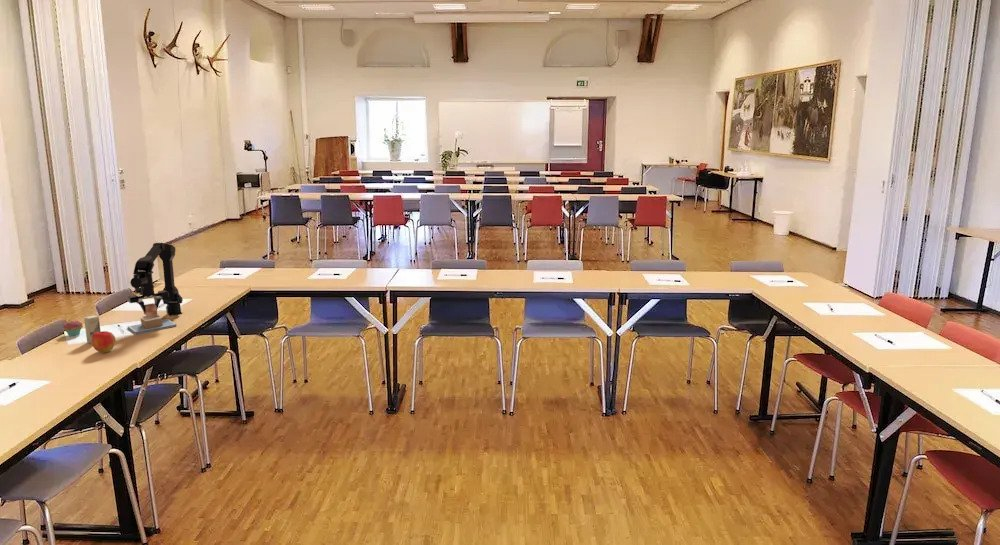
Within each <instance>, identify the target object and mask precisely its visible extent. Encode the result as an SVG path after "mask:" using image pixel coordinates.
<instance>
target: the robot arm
mask: <svg viewBox="0 0 1000 545" xmlns="http://www.w3.org/2000/svg"><path fill="white" fill-rule="evenodd" d="M175 256H176V247H175V245H173V244H167V243H164V242H154V243H153V244H152V246H151V248H150V249H149V250H148V252H147V253H146V254H145V256H142V257H140V258H139V259H138V260H137V261H136V262H135V264H134V269H133V273H132V275H133V277H132V278H131V280H130V282H129V283H130V286H131V287H132V288H134V293H135V294H132V295H128V296H127V298H126V300H127V302H128V303H129V304H135V303H136V304H138V305H139V306H140V308H141V309H142V311H143V314H144V313H146V311H145V305H146V304H145V301H144V300H145V299H152V298H153V302H154V304H155V305H156V308H157V310H158V308H159V305H160V303H161V302H163V305H166V306H165V310H166V314H167V315H168V316H175V315H181V314H183V312H182V309H181V304H182V303H183V301H184V300H183V297H182V296H181V294H180V293H179V289H178V288H177V287H176V286H175V276H174V264H173V260H174V258H175ZM157 258H159V259H160V260H161V261H162V269H163V278H164V280H163V281H164V288H163V290H158V291H157V293H156V292H155V290H154V288H155V285H154V281H153V273H154V271H153V269H154V267H155V261H156V259H157ZM137 294H139V295H137Z"/></svg>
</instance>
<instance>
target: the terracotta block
mask: <svg viewBox="0 0 1000 545" xmlns="http://www.w3.org/2000/svg"><path fill="white" fill-rule="evenodd" d="M144 305H145V311H146V313H144V312H143V314H144V316H151V315H156V314H158V309H157V308H156V305H155V302H153V303H146V304H144Z"/></svg>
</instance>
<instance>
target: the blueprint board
mask: <svg viewBox="0 0 1000 545" xmlns="http://www.w3.org/2000/svg"><path fill="white" fill-rule="evenodd" d="M177 326H178V325H177V323H175V322H173V321H172V320H171V319H169V318H165V319H163V318H162V315H159V314H158V313H157V314H156V315H151V316H146V315H142V316H140V323H139V324H134V325H128V326H127V329H128V330H129V331H131V332H132V333H133V334H134V335H138V334H145V333H149V332H155V331H160V330H165V329H169V328H175V327H177Z"/></svg>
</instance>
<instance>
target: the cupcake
mask: <svg viewBox="0 0 1000 545" xmlns="http://www.w3.org/2000/svg"><path fill="white" fill-rule="evenodd" d="M66 315H67V318H68V321H67V322H66V323H65V324H63V326H62V329H63V331H65V332H66V333H67V335H68V336H69V337H77V336H79V335H80V334H81V329H82V328H83V327H84V325H83V323H82V322H80V321H78V320H71V318H70V315H69V314H68V313H66ZM76 335H77V336H76Z"/></svg>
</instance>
